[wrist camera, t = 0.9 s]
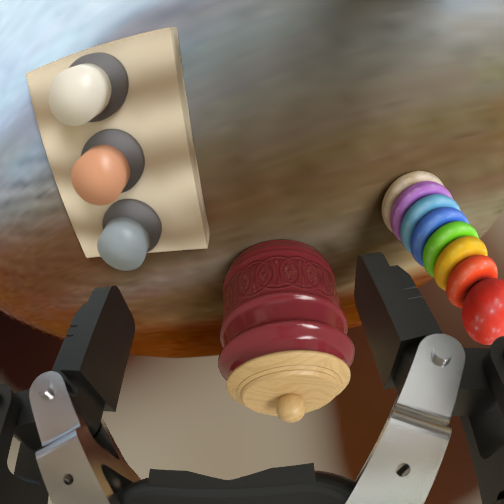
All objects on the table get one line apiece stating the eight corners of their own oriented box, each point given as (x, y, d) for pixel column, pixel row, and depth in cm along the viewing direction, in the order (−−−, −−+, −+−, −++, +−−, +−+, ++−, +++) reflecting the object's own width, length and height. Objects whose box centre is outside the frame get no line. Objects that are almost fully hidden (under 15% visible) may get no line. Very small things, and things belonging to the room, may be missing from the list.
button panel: (40, 68, 22) (20, 75, 19) (177, 27, 21) (168, 26, 19) (93, 244, 35) (84, 262, 32) (209, 233, 34) (206, 253, 32)
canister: (353, 268, 38) (396, 401, 24) (287, 328, 44) (299, 449, 30) (265, 215, 33) (278, 368, 19) (203, 291, 40) (189, 427, 26)
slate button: (98, 219, 27) (90, 232, 26) (142, 214, 27) (136, 226, 26) (113, 258, 30) (107, 271, 29) (155, 255, 30) (150, 269, 29)
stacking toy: (396, 242, 35) (462, 381, 21) (366, 194, 32) (446, 344, 17) (449, 207, 32) (538, 331, 18) (427, 154, 28) (542, 278, 14)
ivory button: (56, 73, 19) (43, 77, 17) (105, 56, 19) (94, 59, 17) (68, 124, 22) (56, 132, 20) (116, 111, 22) (106, 118, 20)
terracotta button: (75, 150, 23) (64, 159, 22) (122, 139, 23) (113, 148, 21) (90, 197, 26) (81, 208, 24) (135, 190, 26) (128, 201, 24)
